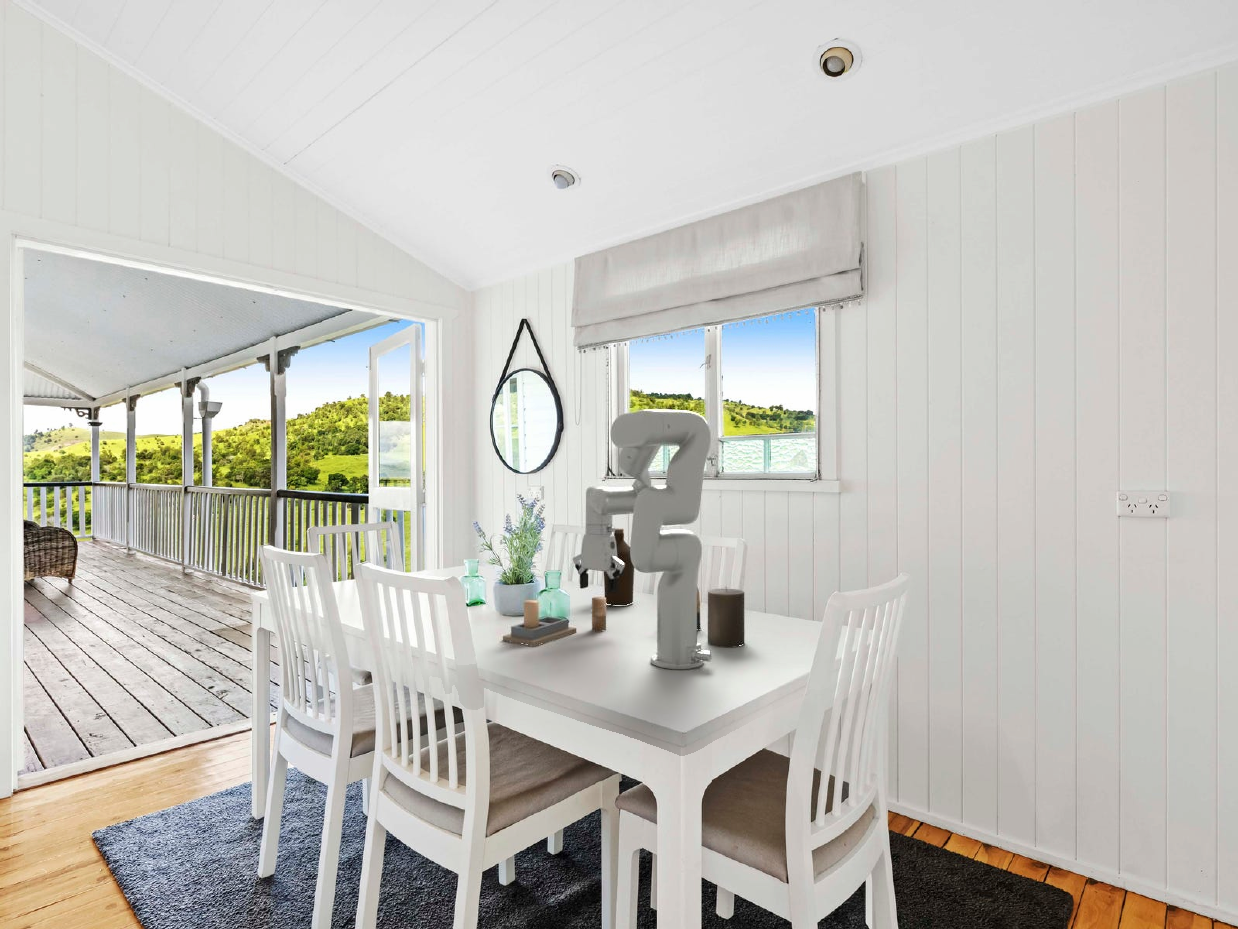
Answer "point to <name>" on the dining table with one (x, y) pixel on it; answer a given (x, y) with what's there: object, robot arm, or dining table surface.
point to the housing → (538, 627)
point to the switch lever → (598, 613)
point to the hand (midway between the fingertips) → (597, 590)
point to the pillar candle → (726, 617)
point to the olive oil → (625, 578)
